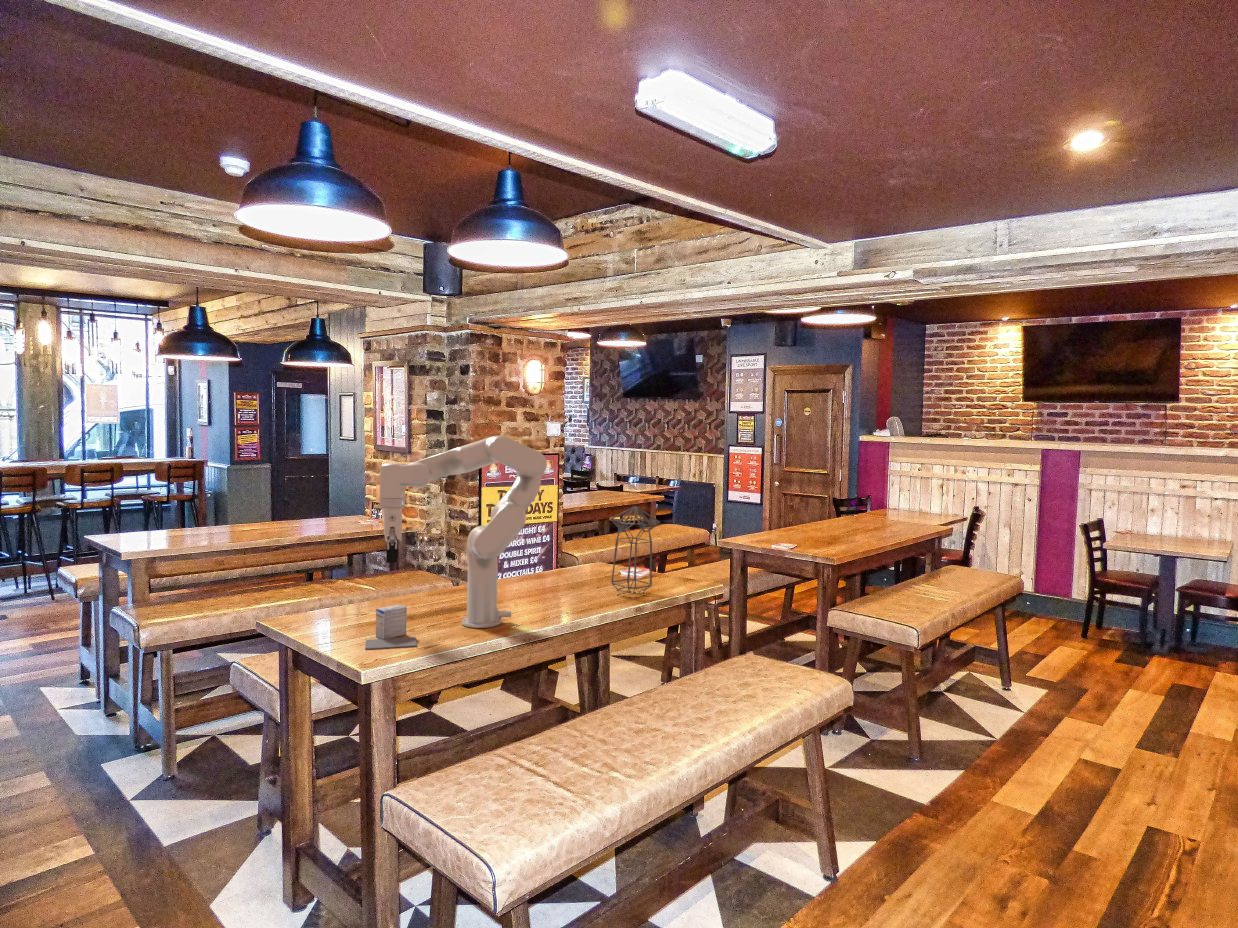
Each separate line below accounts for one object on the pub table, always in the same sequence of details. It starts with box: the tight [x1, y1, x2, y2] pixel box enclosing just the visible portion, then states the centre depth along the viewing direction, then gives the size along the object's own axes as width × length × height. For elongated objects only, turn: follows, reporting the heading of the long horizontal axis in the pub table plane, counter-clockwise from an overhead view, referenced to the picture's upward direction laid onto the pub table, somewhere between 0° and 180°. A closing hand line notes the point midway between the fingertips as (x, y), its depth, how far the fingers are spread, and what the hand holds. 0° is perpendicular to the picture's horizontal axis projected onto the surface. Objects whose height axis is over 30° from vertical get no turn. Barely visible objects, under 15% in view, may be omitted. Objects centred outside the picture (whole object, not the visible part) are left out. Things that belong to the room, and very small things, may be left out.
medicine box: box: [375, 604, 408, 639], centre depth 217 cm, size 8×4×9 cm, turn 141°
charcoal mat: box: [364, 636, 418, 651], centre depth 209 cm, size 14×9×1 cm, turn 108°
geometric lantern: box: [608, 506, 661, 594], centre depth 281 cm, size 16×16×35 cm
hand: (391, 559), depth 223 cm, fingers open, 8 cm apart
